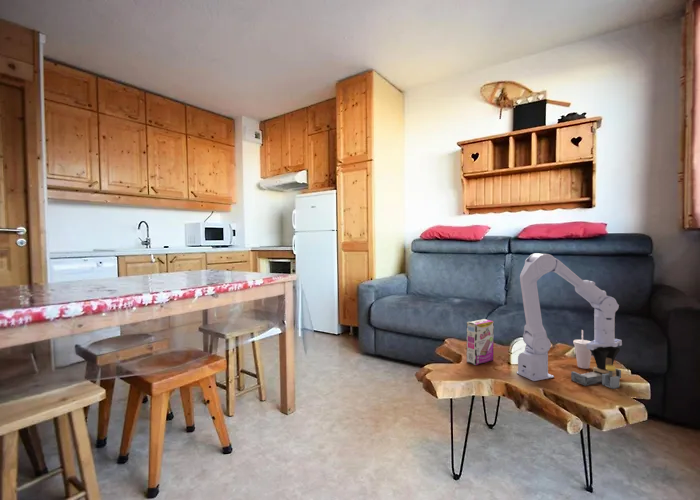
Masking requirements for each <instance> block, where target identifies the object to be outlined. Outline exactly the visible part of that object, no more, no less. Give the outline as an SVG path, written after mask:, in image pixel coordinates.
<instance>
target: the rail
mask: <svg viewBox="0 0 700 500" xmlns="http://www.w3.org/2000/svg"><path fill="white" fill-rule="evenodd" d="M602 374H603V373H600V372H597V371H596V372H593V371H590V372H586V373H578V372H576V371H571V372H570V377H571V379H570V380H571V381H572V382H574V383H576V384H580V385H583V386H585V387H587V386H592V385H596V384H602ZM616 376H618V377H619V380H621V379H622V369H619V368H616ZM620 378H621V379H620Z"/></svg>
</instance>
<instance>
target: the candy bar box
mask: <svg viewBox="0 0 700 500" xmlns="http://www.w3.org/2000/svg"><path fill="white" fill-rule="evenodd" d="M494 323H495V322H494V321H493V320H490V319H486V318H482V319H478V320H472V321H467V322H466V363H469V364H471V365H474V366H479V365H481V364H485V363H488V362H492V361H494V334H495V331H494V329H495V327H494V325H495V324H494Z"/></svg>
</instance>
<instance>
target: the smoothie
mask: <svg viewBox="0 0 700 500" xmlns="http://www.w3.org/2000/svg"><path fill="white" fill-rule="evenodd" d="M591 341H592V340H591ZM591 341H590V340H587V339H584V330H583V329H581V339H574V340H573V345H574V351H575V357H576V365H577V367H578V368H580V369H585V370H586V369H590V366H591V360H592V359H591V358H592V352H591V351H590V349H587V343H589V342H591Z"/></svg>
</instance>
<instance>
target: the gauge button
mask: <svg viewBox="0 0 700 500" xmlns="http://www.w3.org/2000/svg"><path fill="white" fill-rule="evenodd" d="M616 369H617V368H616V366H615V365H614V364H613V365H606V370H609V380H610V377H613V371H616Z"/></svg>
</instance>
